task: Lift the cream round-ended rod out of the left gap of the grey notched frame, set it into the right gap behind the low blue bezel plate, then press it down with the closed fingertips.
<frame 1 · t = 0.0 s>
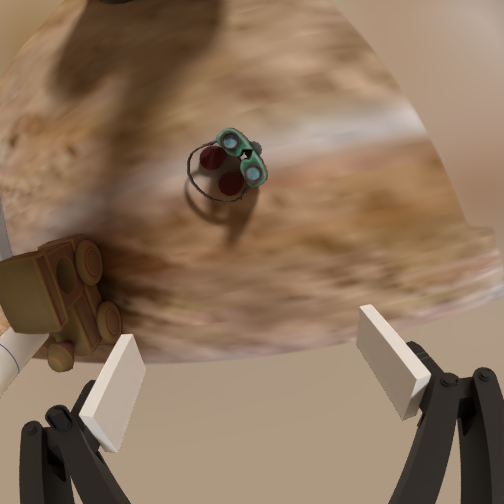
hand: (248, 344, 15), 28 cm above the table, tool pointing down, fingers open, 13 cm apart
cylindrical container: (36, 326, 45), on the table
binoculars: (228, 167, 40), on the table
wooden toy train: (86, 284, 43), on the table
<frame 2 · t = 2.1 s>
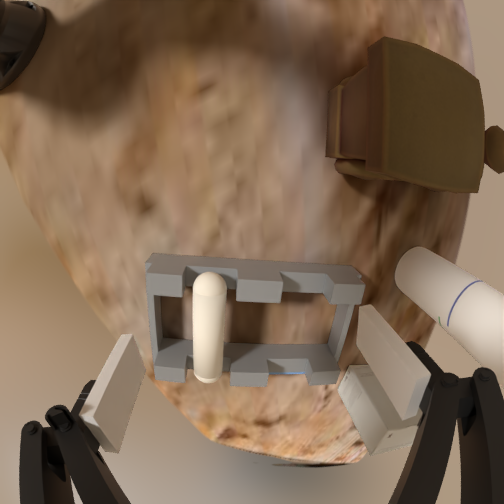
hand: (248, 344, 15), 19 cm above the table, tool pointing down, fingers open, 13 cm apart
cylindrical container: (414, 269, 37), on the table
skincare box: (363, 375, 42), on the table
cream round-ended rod: (209, 324, 33), point 3 cm above the table, touching grey notched frame
grey notched frame: (250, 313, 36), on the table
wooden toy train: (387, 138, 31), on the table
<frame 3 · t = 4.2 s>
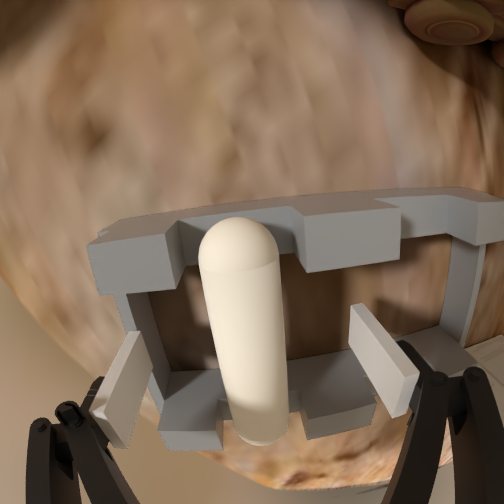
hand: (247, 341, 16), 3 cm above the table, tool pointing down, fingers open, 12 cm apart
skincare box: (475, 357, 24), on the table
cream round-ended rod: (250, 338, 16), point 3 cm above the table, touching grey notched frame
grey notched frame: (320, 300, 19), on the table
wooden toy train: (447, 6, 13), on the table
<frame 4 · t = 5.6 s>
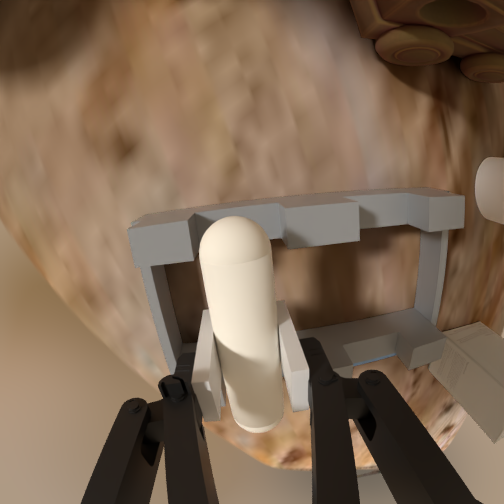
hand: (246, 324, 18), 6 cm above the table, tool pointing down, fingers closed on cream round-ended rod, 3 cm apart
cylindrical container: (491, 188, 23), on the table
skincare box: (455, 342, 28), on the table
cream round-ended rod: (247, 329, 17), point 7 cm above the table, touching gripper
grey notched frame: (306, 281, 24), on the table
wooden toy train: (420, 28, 18), on the table
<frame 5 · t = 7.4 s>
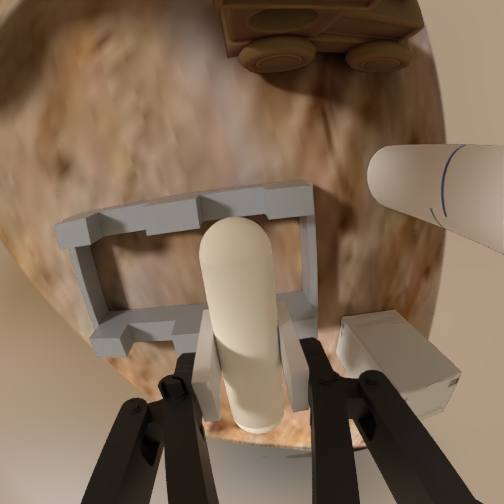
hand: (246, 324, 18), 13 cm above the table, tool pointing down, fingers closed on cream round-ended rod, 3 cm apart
cylindrical container: (393, 176, 29), on the table
skincare box: (366, 329, 34), on the table
cream round-ended rod: (247, 330, 17), point 13 cm above the table, touching gripper
grey notched frame: (192, 262, 30), on the table
wooden toy train: (308, 31, 23), on the table
when the fingers open (3 cm above the table, at t = 9.4 s): cream round-ended rod stays where it is, resting on grey notched frame.
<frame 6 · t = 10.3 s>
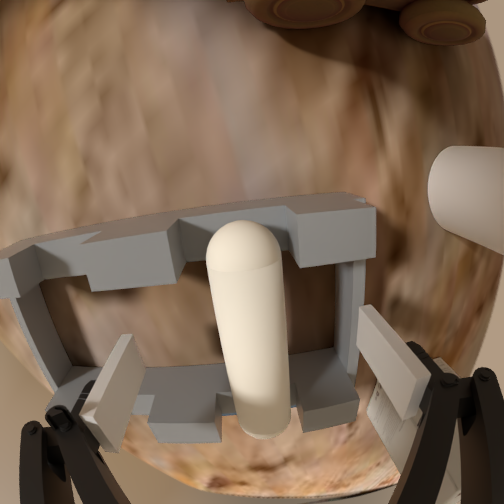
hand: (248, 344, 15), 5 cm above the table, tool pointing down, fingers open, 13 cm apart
cylindrical container: (456, 189, 18), on the table
skincare box: (405, 381, 24), on the table
cream round-ended rod: (249, 336, 17), point 3 cm above the table, tilted 8°, touching grey notched frame
grey notched frame: (175, 314, 20), on the table
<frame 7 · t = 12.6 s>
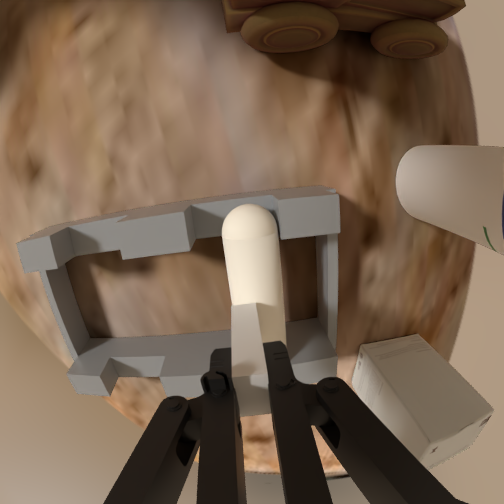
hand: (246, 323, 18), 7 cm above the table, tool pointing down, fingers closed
cylindrical container: (424, 182, 23), on the table
skincare box: (386, 355, 29), on the table
cream round-ended rod: (245, 301, 21), point 4 cm above the table, tilted 28°, touching grey notched frame, gripper
grey notched frame: (184, 286, 24), on the table
wooden toy train: (324, 8, 18), on the table
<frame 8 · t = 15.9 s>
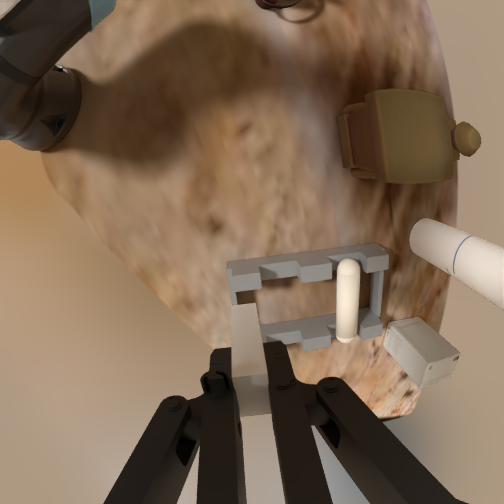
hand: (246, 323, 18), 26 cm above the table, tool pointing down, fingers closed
cylindrical container: (423, 237, 46), on the table
skincare box: (401, 329, 51), on the table
cream round-ended rod: (343, 298, 44), point 3 cm above the table, touching grey notched frame
grey notched frame: (307, 293, 47), on the table
wooden toy train: (384, 141, 40), on the table
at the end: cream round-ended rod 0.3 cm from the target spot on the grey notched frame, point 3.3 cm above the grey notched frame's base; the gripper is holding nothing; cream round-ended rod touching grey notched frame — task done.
